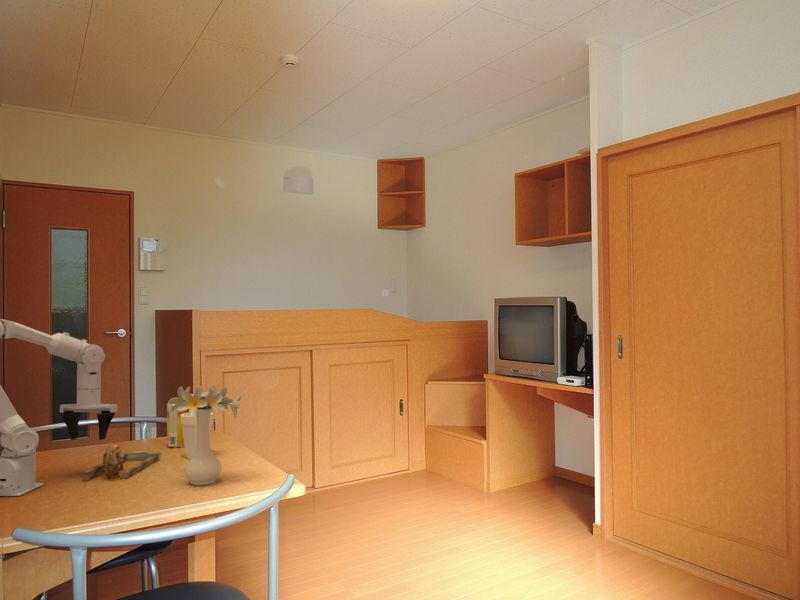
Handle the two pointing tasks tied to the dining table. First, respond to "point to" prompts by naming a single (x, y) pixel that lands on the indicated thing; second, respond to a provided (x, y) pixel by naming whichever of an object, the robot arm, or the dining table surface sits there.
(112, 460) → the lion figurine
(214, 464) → the flower vase
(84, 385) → the robot arm
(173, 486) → the dining table surface
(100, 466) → the flange channel
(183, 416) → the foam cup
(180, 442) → the yellow box
